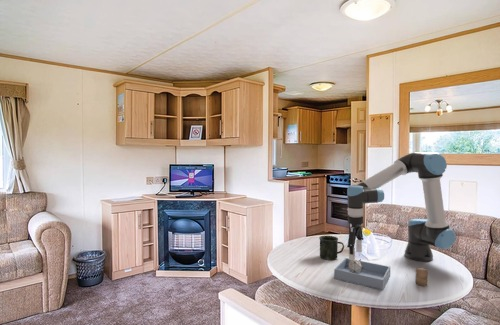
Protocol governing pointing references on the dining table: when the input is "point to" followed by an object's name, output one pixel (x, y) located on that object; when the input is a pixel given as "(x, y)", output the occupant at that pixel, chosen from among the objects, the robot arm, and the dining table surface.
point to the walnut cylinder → (421, 277)
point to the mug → (329, 247)
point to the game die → (355, 266)
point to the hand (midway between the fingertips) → (355, 255)
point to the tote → (364, 274)
